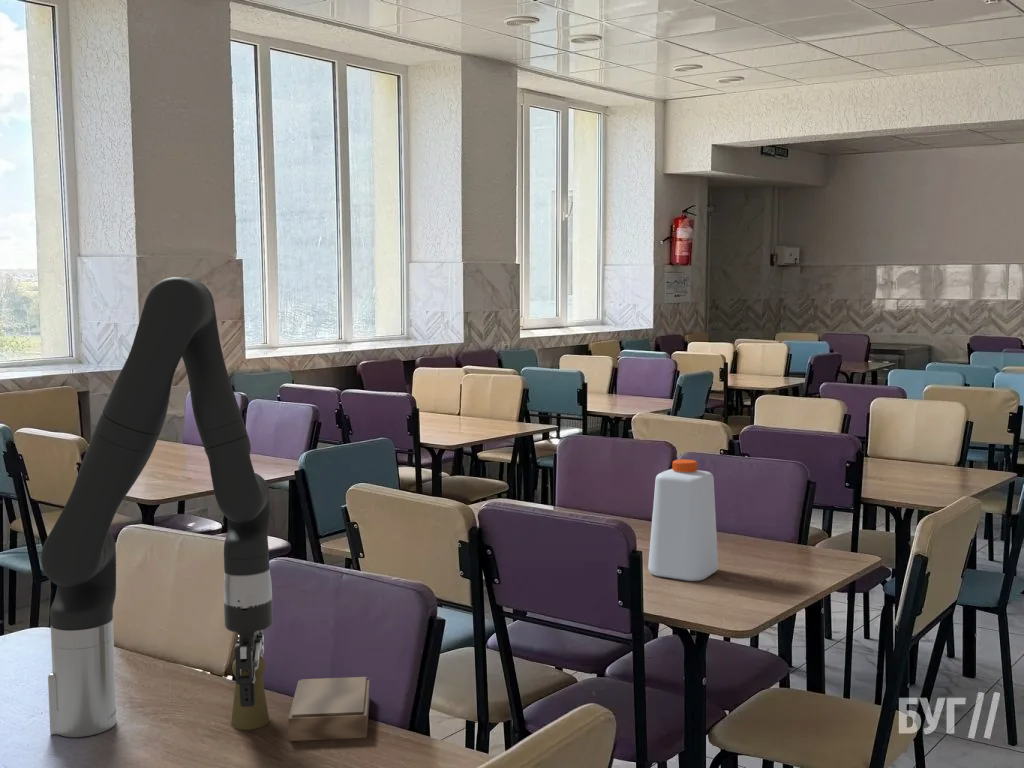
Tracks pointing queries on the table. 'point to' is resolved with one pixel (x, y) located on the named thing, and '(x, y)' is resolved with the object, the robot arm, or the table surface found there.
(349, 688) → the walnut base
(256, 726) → the cork
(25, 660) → the table surface
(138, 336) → the robot arm
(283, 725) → the table surface
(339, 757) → the table surface
